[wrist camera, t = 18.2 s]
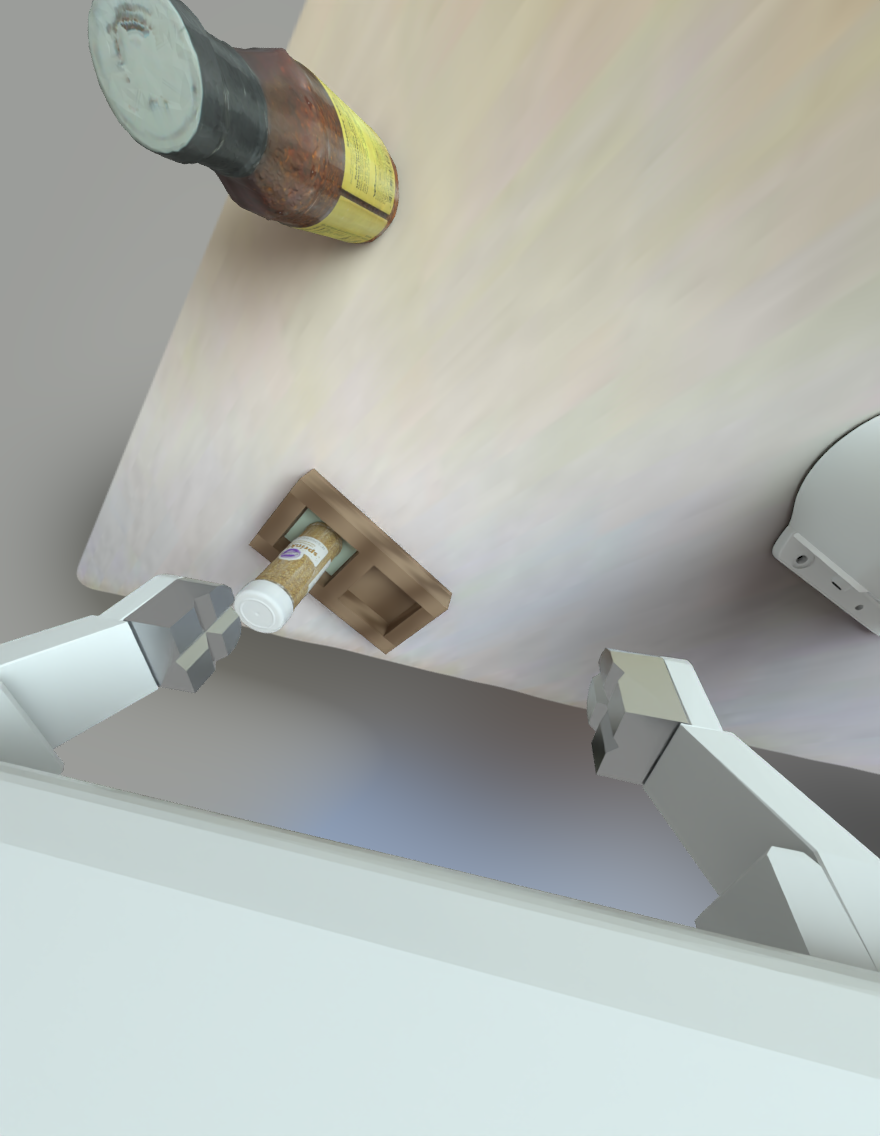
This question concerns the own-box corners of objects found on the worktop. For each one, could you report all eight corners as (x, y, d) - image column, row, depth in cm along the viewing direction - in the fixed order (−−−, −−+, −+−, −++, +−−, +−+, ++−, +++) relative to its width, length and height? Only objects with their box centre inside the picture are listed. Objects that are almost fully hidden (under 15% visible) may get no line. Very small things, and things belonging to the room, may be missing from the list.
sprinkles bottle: (334, 517, 43) (267, 588, 32) (349, 554, 46) (291, 632, 34) (297, 524, 45) (220, 595, 33) (314, 559, 47) (247, 637, 36)
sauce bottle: (345, 105, 27) (57, -217, 11) (420, 177, 28) (266, -11, 12) (304, 210, 31) (38, 91, 14) (372, 271, 32) (202, 227, 15)
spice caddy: (452, 593, 47) (447, 609, 44) (392, 637, 52) (385, 654, 50) (313, 468, 42) (299, 478, 39) (263, 532, 47) (248, 544, 45)
